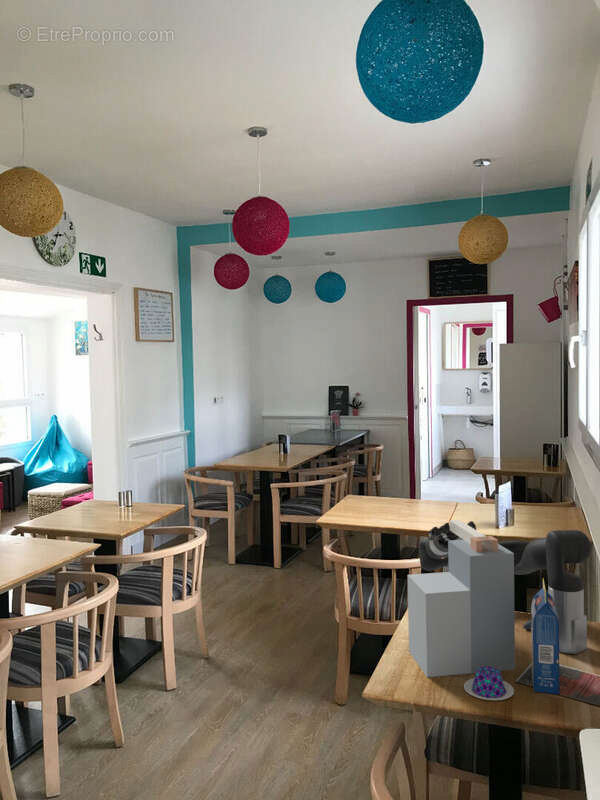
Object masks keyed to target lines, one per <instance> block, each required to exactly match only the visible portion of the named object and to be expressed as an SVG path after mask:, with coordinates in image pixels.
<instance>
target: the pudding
mask: <svg viewBox="0 0 600 800" xmlns="http://www.w3.org/2000/svg"><path fill="white" fill-rule="evenodd" d="M501 672H502V671H499V670H498V669H496V668H494V667H488V666H483V667H479V668H478V669H477V671H476V673H474V677H473V678H469V679H467V680H466V681H465V682H464V684H463V688H464V690H465V692H467V693H468V694H469V695H471V696H472V697H475V698H478V699H481V700H486V701H502V700H506V699H509V698H511V697H512V696H513V695H514V693H515V689H514V687H513V686H512V684H510V683H509V682H507V681H505V680H504V679H503V677H502V673H501Z"/></svg>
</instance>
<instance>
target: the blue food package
mask: <svg viewBox="0 0 600 800" xmlns="http://www.w3.org/2000/svg"><path fill="white" fill-rule="evenodd" d="M530 610H531V611H530V613H531V614H530V618H531V619H530V620H531V630H530V631H531V632H530V634H531V635H530V636H531V638H530V639H531V677H532V678H531V682H532V688H533V691H534V692H538V693H546V694H556V695H559V694H560V652H559V622H558V614H557V610H556V607H555V603H554V600H553V598H552V597H551V595H550V594H549V593H548V591H547V590H546V585H545V580H544V578H542V588H541V589H540V590H539V591H538V592H537V593H535V595H534V596H533V598H532V601H531V606H530Z"/></svg>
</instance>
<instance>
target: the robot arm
mask: <svg viewBox="0 0 600 800" xmlns="http://www.w3.org/2000/svg"><path fill="white" fill-rule="evenodd" d="M466 524H467V525H469V526H470V527H472V528H473V529H475V530H477V525H476V524H475V522H474V521H472V520H471V521H469V522H468V523H466ZM427 533H428V538H423V539H422V540H420V541H419V542H418V557H419V564H420V567H421V568H422V569H423V570H424V571H429V572H430V571H431V572H432V571H436V570H438V569H442V568H445V567H449V560H448V541H449V540H462V538H460V537H459V536H457V535H456V534H454V533H453V532H451V531H450V522H445V523H444V524H442V525H440V526H439V527H438V526H433V527H432V528H431V529H430V530H429V531H428V532H427ZM498 544H499V545H501V546H503V547H504V548H506V549H508V550H509V551H511V552H513V553H514V575H517V576H518V575H519V576H521V575H528V574H531V573H533V572H536V571H539V570H540V571H541V570H546V572H547V581H548V584H547V586H548V587H547V588H548V591H547V592H548V593H549V594H550V595H551V597H552V598H553V600H554V603H555V607H556V610H557V614H558V622H559V653H563V654H573V655H578V654H580V653H582V652H583V651H585V650H587V649H588V616H587V615H586V614H584V612H585V611H584V599H585V598H584V579H583V578H582V576H580V575H578V574H575V573H573V572H570V571H566V570H565V566H564V565H572V564H581V563H585V562H586V561H587V560H588V559H589V557H590V555H591V552H592V545H591V540H590V538H589V537H588V536H587V534H585V533H584V532H583V531H581V530H577V529H565V530H564V529H563V530H562V529H561V530H560V529H559V530H550V531H548V533H547V535H546V537H540V538H536V539H534V540H531V541H526V540H508V541H507V540H506V541H504V540H503V541H498Z"/></svg>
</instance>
